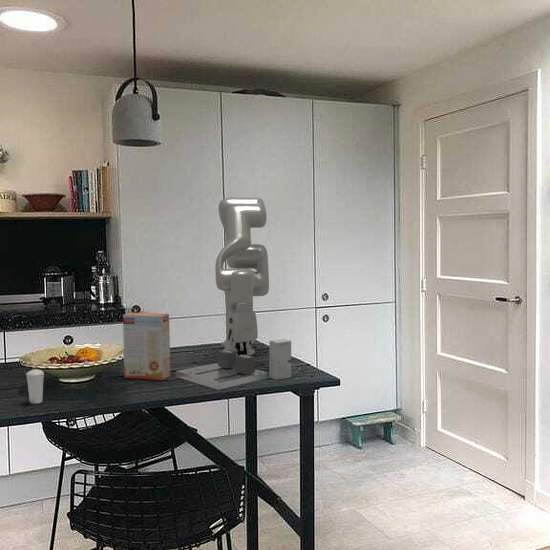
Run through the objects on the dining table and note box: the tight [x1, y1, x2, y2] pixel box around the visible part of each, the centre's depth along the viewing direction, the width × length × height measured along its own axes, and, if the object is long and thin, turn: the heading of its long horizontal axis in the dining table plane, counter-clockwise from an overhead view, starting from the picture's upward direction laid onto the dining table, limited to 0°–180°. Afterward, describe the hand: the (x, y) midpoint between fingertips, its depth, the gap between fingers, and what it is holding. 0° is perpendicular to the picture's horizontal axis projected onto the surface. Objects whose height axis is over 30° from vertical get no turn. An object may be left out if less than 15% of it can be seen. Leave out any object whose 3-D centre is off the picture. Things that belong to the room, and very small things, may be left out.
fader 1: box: [217, 349, 237, 369], centre depth 204 cm, size 5×4×5 cm
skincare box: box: [268, 338, 292, 381], centre depth 198 cm, size 6×4×12 cm
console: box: [175, 362, 268, 391], centre depth 199 cm, size 22×20×2 cm
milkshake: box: [24, 368, 45, 405], centre depth 171 cm, size 4×5×10 cm
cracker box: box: [122, 312, 171, 381], centre depth 199 cm, size 14×6×21 cm, turn 72°
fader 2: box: [235, 355, 256, 374], centre depth 196 cm, size 5×4×5 cm
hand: (242, 361), depth 208 cm, fingers closed
